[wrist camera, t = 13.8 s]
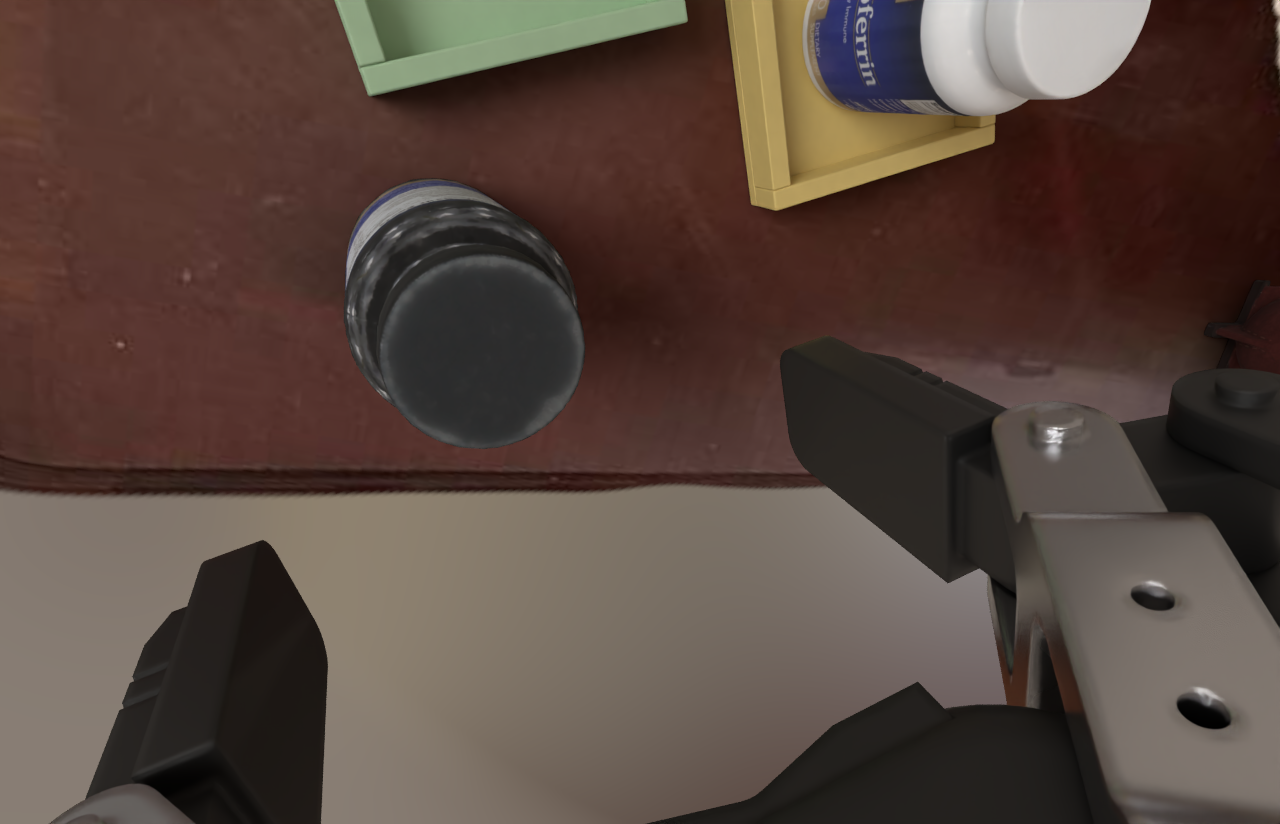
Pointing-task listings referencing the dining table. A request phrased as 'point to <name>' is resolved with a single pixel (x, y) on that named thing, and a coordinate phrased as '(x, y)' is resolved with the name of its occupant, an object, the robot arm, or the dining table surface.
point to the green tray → (483, 33)
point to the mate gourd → (1253, 332)
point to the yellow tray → (820, 118)
